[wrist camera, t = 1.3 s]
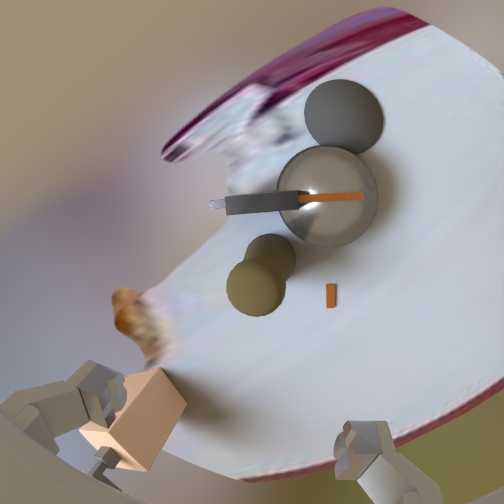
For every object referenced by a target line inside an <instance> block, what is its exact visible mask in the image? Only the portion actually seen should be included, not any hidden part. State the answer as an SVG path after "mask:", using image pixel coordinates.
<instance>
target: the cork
mask: <svg viewBox="0 0 504 504" xmlns="http://www.w3.org/2000/svg"><path fill="white" fill-rule="evenodd" d="M295 262H296V256H295V252H294V249H293V247H292V246H291V244H290V243H289V242H288V241H287V240H286V239H285V238H283V237H281V236H278V235H276V234H265V235H260V236H259V237H257V238H255V239H254V240H253V241H252V242H251V243H250V244H249V246H248V248H247V251H246V254H245V257H244V260H243V261H242V262H240V263H238V264H237V265H236V266H235V267H234V268H233V270H232V271H231V272H230V274H229V277H228V279H227V290H226V291H227V295H228V298H229V300H230V302H231V303H232V305H233V306H234V307H235V308H236V309H237V310H239V311H240V312H241V313H244V314H246V315H248V316H255V317H259V316H265V315H268V314H270V313H272V312H273V311H274V310H275V309H276V308H277V307H278V306H279V305H280V304H281V303H282V301H283V299H284V297H285V289H286V283H285V282H286V280H287V279H288V277H289V276H290V274H291V273H292V271H293V269H294V267H295Z"/></svg>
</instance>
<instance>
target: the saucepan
mask: <svg viewBox="0 0 504 504" xmlns="http://www.w3.org/2000/svg"><path fill="white" fill-rule="evenodd" d="M377 202H378V194H377V187H376V184H375V181H374V178H373V176H372V174H371V172H370V170H369V169H368V168H367V166H366V165H365V164H364V163H363V162H362V161H361V160H360V159H359V158H358V157H356V156H355V155H353V154H352V153H350V152H348V151H346V150H343V149H340V148H335V147H318V148H314V149H311V150H308V151H306V152H304V153H302V154H301V155H299V156H298V157H296V158H295V159H294V160H293V161H292V162H291V163H290V164H289V166H288V167H287V168H286V170H285V172H284V174H283V176H282V178H281V181H280V185H279V191H272V192H261V193H250V194H240V195H232V196H227V197H225V205H226V213H227V215H236V214H248V213H260V212H273V211H281V214H282V216H283V218H284V220H285V222H286V224H287V225H288V226H289V228H290V229H291V230H292V231H293V232H294V233H295V234H296V235H297V236H298V237H300V238H301V239H303V240H304V241H306V242H308V243H311V244H313V245H317V246H322V247H336V246H341V245H345V244H347V243H350V242H352V241H353V240H355V239H357V238H358V237H359V236H361V235H362V234H363V233H364V232H365V231H366V229H367V228H368V227H369V225H370V224H371V222H372V220H373V218H374V215H375V212H376V209H377Z"/></svg>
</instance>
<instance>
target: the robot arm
mask: <svg viewBox="0 0 504 504" xmlns="http://www.w3.org/2000/svg"><path fill="white" fill-rule="evenodd" d="M124 382H125V379H124V375H123V374H122V373H119V372H117V371H114V370H112V369H110V368H108V367H105V366H103V365H101V364H99V363H96V362H94V361H92V360H88V361H86V362H85V363H84V364H83V365H82V366H81V367H80V368H79V369H78V370H77V371H76V372H75V373H74V374H73V375H72V376H71V377H70V378H69V379H68V380H67V381H66V382H65V381H59V382H54V383H50V384H46V385H42V386H38V387H34V388H29V389H25V390H20V391H16V392H14V393H13V394H12V395H11V396H10V397H9V398H8V399H7V400H6V401H4V402H3V403H2V404H1V405H0V504H152V503H149V502H146V501H144V500H141V499H139V498H136V497H134V496H131V495H129V494H127V493H124V492H122V491H120V490H118V489H115V488H113V487H111V486H109V485H107V484H105V483H103V482H101V481H99V480H97V479H95V478H93V477H91V476H90V475H88V474H86V473H84V472H82V471H81V470H79V469H77V468H75V467H74V466H72V465H70V464H69V463H67V462H65V461H64V460H62V459H61V458H59V457H58V456H56V454H57V453H58V452H59V450H60V449H59V446H58V445H57V443H56V441H55V440H54V438H55V437H57V436H60V435H62V434H64V433H67V432H69V431H71V430H73V429H76V428H78V427H80V426H82V425H85V424H87V423H89V422H90V421H91V422H93V423H95V424H98V425H100V426H102V427H104V428H106V429H109V428H110V426H111V425H112V423H113V422H114V421H115V419H116V415H115V413H116V412H119V411H121V410H122V409H123V407H124V406H125V403H126V400H127V390H126V388H125V387H124V386H123V383H124ZM334 457H335V458H336V459H337V460H338V462H337V463H336V465H335V475H336V480H357V481H358V483H359V484H360V485H361V487H362V488H363V489H364V490H365V492H366V493H367V494H368V496H369V497H370V498H371V499H372V501H373V502H374V503H375V504H444V503H443V499H442V496H441V493H440V489H439V486H438V485H437V484H436V483H435V482H434V481H433V480H431V479H430V478H429V477H428V476H427V475H425V474H424V473H423V472H422V471H421V470H419V469H418V468H417V467H416V466H415V465H413V464H412V463H411V462H410V461H409V460H407V458H405V457H404V456H403V455H402V454H401V453H396V449H395V446H394V443H393V439H392V436H391V432H390V429H389V426H388V423H387V422H386V421H347V422H346V423H345V424H344V426H343V432H342V433H340V434H339V435H338V436H337V438H336V441H335V444H334ZM466 504H504V486H503V487H502V488H499V489H497V490H495V491H493V492H491V493H489V494H487V495H485V496H482V497H480V498H478V499H475V500H473V501H470V502H468V503H466Z"/></svg>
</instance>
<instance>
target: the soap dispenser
mask: <svg viewBox="0 0 504 504" xmlns="http://www.w3.org/2000/svg"><path fill="white" fill-rule="evenodd" d="M123 386H124V387H125V388H126V390H127V400H126V403H125V406H124V407H123V409H122V410H121V411H119V412H116V413H115V415H116V419H115V421H114V422H113V423H112V425H111V426H110V428H109V429H106V428H104V427H102V426H100V425H98V424H95V423H93V422H91V421H90V422H89V423H87V424H85V425H83V427H82V428H81V429H80V430H79V431H80V432H81V433H82V435H83V436H84V437H85V438H86V439H87V440H88V441H89V442H90V443H91V444H92V445H93V446H94V447H95V448H96V449H97V450H98V451H97V452H96V454H95V455H94V456H93V457H94V458H95V459H96V460H97V461H98V462H97V463H96V464H95V466H94V467H93V468H92V470H91V471H90V472H89V474H88V475H90V476H91V477H93V478H95V479H97V480H99V481H101V482H103V483H105V484H107V485H109V486H111V487H113V488H115V489H118V490H120V491H122V490H121V489H119V488H118V487H117V486H116V485H114V484H113V483H112V482H111V481H110V480H109V479H107V478H106V477H105V476H104V475H103V474H102V473H103V472H104V471H105V469H106V468H109V469H115V467H119V468H124V469H131V470H137V471H144V472H148V471H149V469H150V468H151V466H152V464H153V463H154V461H155V459H156V458H157V456H158V454H159V452H160V451H161V449H162V447H163V446H164V444H165V442H166V441H167V439H168V437H169V435H170V434H171V432H172V430H173V428H174V427H175V425H176V423H177V422H178V420H179V418H180V416H181V415H182V413H183V411H184V409H185V408H186V406H187V402H186V401H185V400H184V398H183V397H182V396H181V395H180V393H179V392H178V391H177V389H176V388H175V387H174V385H173V384H172V383H171V381H170V380H169V379H168V377H167V376H166V374H165V373H164V372H163V370H162V369H161V368H155V369H151V370H147V371H143V372H139V373H134V374H130V375H128V377H127V378H126V379H125V382H124V383H123ZM122 492H123V491H122Z"/></svg>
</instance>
